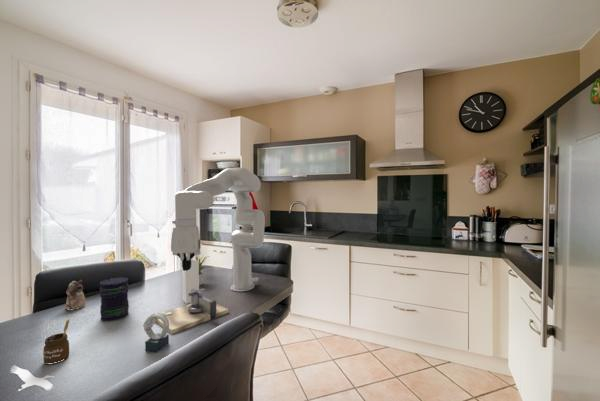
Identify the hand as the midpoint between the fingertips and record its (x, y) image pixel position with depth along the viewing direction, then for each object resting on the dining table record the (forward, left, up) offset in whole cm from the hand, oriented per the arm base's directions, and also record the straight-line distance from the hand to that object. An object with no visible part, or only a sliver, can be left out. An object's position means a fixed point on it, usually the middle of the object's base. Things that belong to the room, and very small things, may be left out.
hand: (186, 269), depth 109 cm
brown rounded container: (+38, -7, -21) cm, 44 cm away
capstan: (-7, 0, -19) cm, 20 cm away
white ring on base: (+15, +9, -21) cm, 28 cm away
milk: (-12, -21, -21) cm, 32 cm away
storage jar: (+17, -29, -21) cm, 40 cm away
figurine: (+26, -53, -21) cm, 62 cm away
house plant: (-27, -42, -21) cm, 54 cm away
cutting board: (-4, -5, -21) cm, 22 cm away
